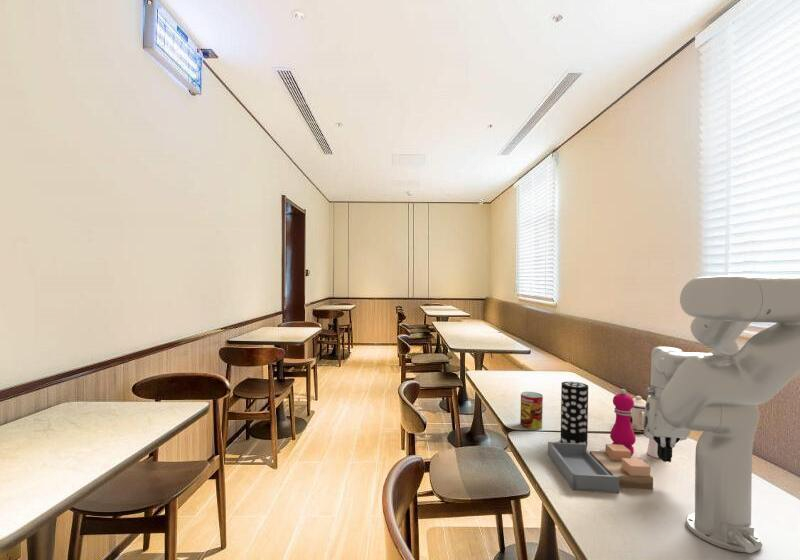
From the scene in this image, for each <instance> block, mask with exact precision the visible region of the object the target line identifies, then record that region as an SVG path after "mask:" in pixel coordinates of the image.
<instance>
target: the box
mask: <svg viewBox="0 0 800 560" xmlns="http://www.w3.org/2000/svg"><path fill="white" fill-rule="evenodd" d="M547 455H548V457H549V459H550V460H551V461H552V463H553V464H554V465H555V466H556V468H557V469H558V471H559V472H560V474H561V475H562V477H563V478H564V479H565V481H566V482H567V483H568V485H569V486H570V487H571V489H572V490H573V491H577V490H578V491H581V492H596V491H597V493H600V492H601V493H615V494H617V493H618V494H619V493H620V487H619V478H620V477H619V476H615V475H611V474H610V473H609V472H608V471H607V470H606V469H605V468H604V467H603V466H602V465H601V464H600V463H599V462H598V461H597V460H596V459H595V458H594V457H593V456H592V455H591V454H590V451H588V443H587V444H581V443H561V442H559V441H558V442H555V441H554V442H553V441H548V442H547Z"/></svg>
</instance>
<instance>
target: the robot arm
mask: <svg viewBox="0 0 800 560" xmlns="http://www.w3.org/2000/svg"><path fill="white" fill-rule="evenodd" d="M679 304H680V307H681V310H682V311H683V312H684V313H685V315H688V316H690V317H692V318H693V320H691V323H690V326H689V327H690V332H691V334H692V335H693V337H694V338H695V340H696V341H698V342H699V343H700V344H702V345H704V346H706V347H708V348H710V349H712V350H711V351H710V352H695V351H694V352H689V351H687V352H686V351H684V350H682V349H680V348H677V347H672V346H663V345H662V346H654V347H653V349H652V351H651V359H650V360H651V361H650V363H651V365H650V385H649V387H646V388H645V392H646V394H649V395H648V396H647V398H646V400H645V401H646V405H645V411H644V429H645V431H643V432H644V433H643V436H644V437H645V438H647V439H653V440H655V441H656V443H658V448H657V454H658V457H659V458H658V459H660V460H661V461H662V462H663V463H667V462H668V463H671V462H672V458H673V448H675V446H676V444H677V443H678V442H679V441H685V440H687V439H688V438H689V437H690V435H691V432H693V431H694V432H702V433H701V435H700V436H699V437H698V439H697V442H696V446H695V455H694V456H695V459H694V460H695V463H694V466H695V468H694V470H695V471H694V512H693V513H692V512H691V513H690V514H688V515H686V517H685V524H686V525H685V526H687V528H688V529H689V530H690V531H691V533H693V534H694V535H695V536H697V537H698V538H700V539H701V540H704V541H705V542H707V543H710V544H711V545H714V546H716V547H719V548H722V549H725V550H728V551H732V552H739V553H748V554H752V553H755V552H757V551H760V550H761V549H762V547H763V543H762V541H761V538H760V537H759V536H758V534H757V533H756V532H755V527H754V526H753V525H752V487H753V486H752V478H753V477H752V476H753V475H752V474H753V471H752V469H753V450H754V449H753V448H754V441H755V440H754V439H755V436H756V432H757V429H758V424H759V420H760V410H759V406H758V405H763V404H766V403H768V402H769V401H770V400H772V399H773V398H774V397H775V396H776V395H777V394H778V393H780V391H781V390H783V388H785V386H787V384H789V383H790V382H791V381H792V380H793V379H794V378H795V377H796V376H797V374H798V373H799V372H800V275H776V274H775V275H769V274H768V275H765V274H763V275H762V274H751V275H750V274H728V275H727V274H726V275H715V276H714V275H713V276H698V277H695V278H692V279H690V280H689V281H688V282H687V283H686V284H685V285H684V286H683V288H682V290H681V292H680V296H679ZM751 323H770V324H771V323H773V325H771V326H769V327H768V328H765V329H763V330H761V331H759V332H758V333H757V332H756V334H754V335H753V336H750V338H749V339H748V340H747V341H746V342H745V343H744V345H743V346H742V347H741V348H739V345H738V343H737V339H738V338H739V337H740V336H741V335H742V334H743V333H744V332H745V330H746V329H747V328H748V327H749V326H750V324H751Z"/></svg>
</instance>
